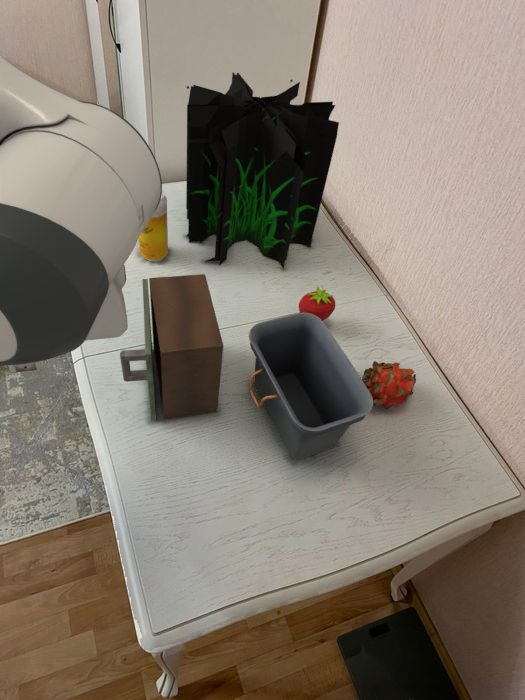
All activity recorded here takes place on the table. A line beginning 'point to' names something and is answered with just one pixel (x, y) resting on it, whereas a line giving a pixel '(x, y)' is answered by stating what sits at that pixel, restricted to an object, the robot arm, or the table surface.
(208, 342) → the cupboard
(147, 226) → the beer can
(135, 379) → the cupboard door
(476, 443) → the table surface
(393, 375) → the dragon fruit
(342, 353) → the storage bin
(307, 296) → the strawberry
